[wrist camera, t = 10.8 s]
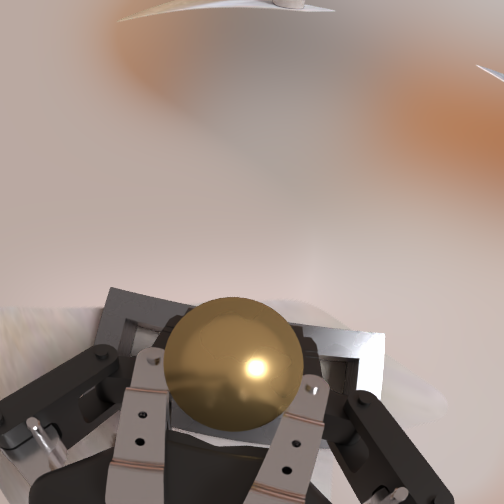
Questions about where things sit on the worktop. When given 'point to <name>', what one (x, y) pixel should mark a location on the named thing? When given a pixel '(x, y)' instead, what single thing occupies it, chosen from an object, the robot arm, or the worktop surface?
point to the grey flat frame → (327, 339)
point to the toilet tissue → (290, 3)
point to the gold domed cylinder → (233, 364)
